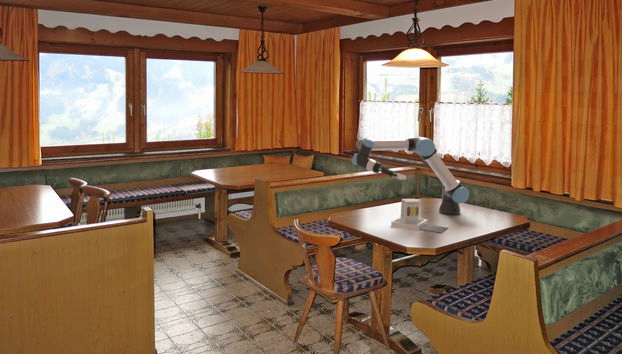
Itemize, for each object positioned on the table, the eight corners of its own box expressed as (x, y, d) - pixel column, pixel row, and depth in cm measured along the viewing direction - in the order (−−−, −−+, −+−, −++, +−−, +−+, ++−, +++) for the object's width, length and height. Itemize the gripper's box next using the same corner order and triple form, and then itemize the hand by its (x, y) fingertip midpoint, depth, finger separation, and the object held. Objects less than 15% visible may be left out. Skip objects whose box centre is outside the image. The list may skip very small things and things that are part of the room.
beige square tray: (402, 220, 361) (402, 215, 361) (427, 224, 352) (427, 219, 352) (391, 226, 346) (391, 221, 345) (417, 230, 336) (417, 225, 336)
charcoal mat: (427, 225, 349) (427, 224, 349) (448, 228, 342) (448, 227, 341) (419, 230, 337) (419, 229, 337) (441, 233, 330) (441, 232, 330)
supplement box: (404, 227, 343) (406, 201, 341) (399, 223, 352) (400, 198, 350) (418, 226, 345) (420, 201, 343) (413, 223, 354) (414, 198, 351)
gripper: (376, 172, 367) (405, 183, 361) (367, 171, 344) (398, 183, 337) (380, 161, 367) (409, 173, 360) (371, 160, 343) (402, 172, 336)
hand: (404, 178), depth 348 cm, fingers open, 13 cm apart
